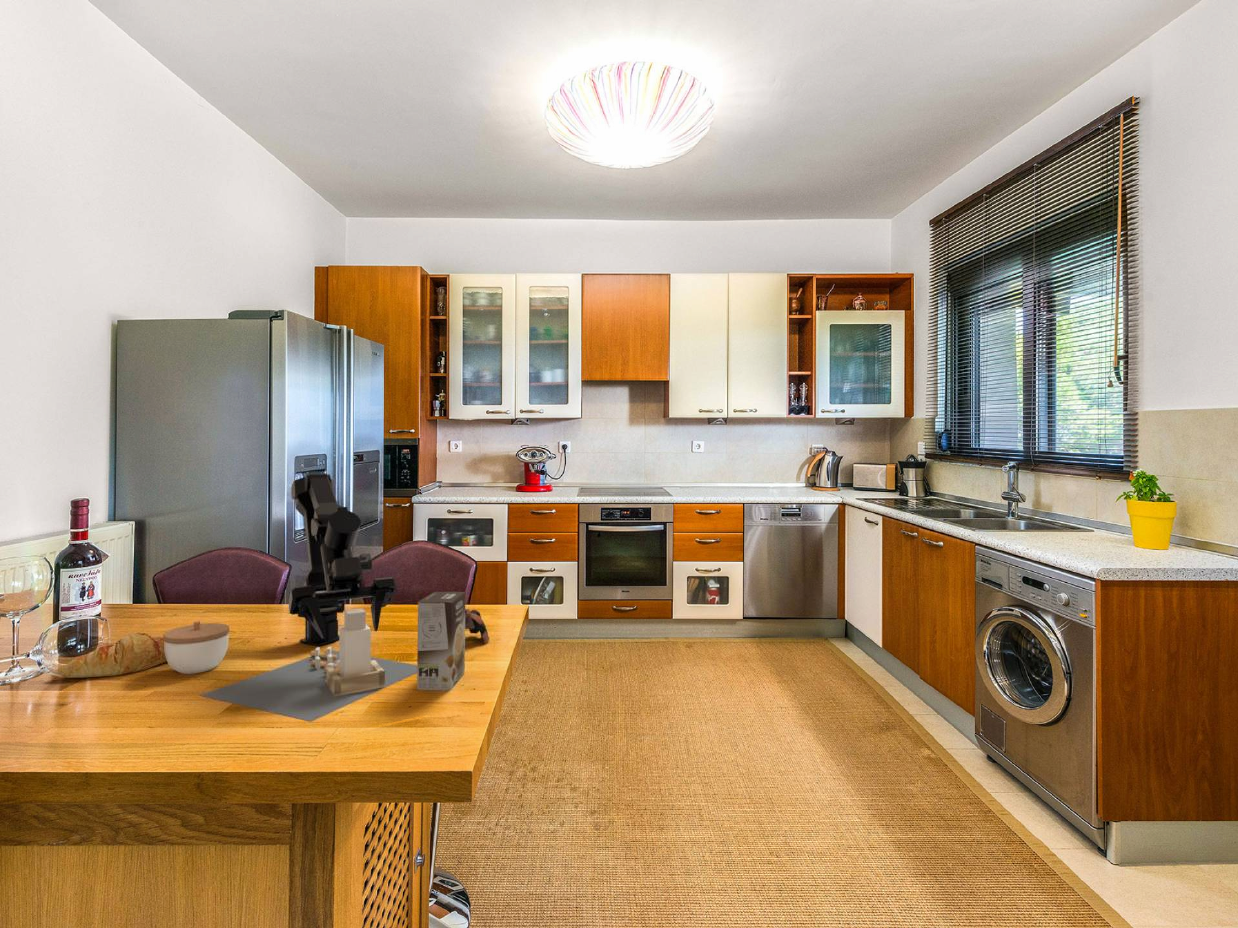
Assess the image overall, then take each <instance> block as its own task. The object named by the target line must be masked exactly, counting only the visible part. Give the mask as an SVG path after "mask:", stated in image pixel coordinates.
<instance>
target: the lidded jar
mask: <svg viewBox="0 0 1238 928" xmlns="http://www.w3.org/2000/svg"><path fill="white" fill-rule="evenodd" d="M229 633H230V626H229V625H228V624H225V623H219V622H217V623H215V622H209V623H208V622H206V623H201V621H199V620H198V621H194V622H193V624H188V625H184V626H180V627H176V628H175V627H174V628H171V629H169V630H168V631H165V632H164V633H163V635H162V638H163V640H164V653H165V657H166V660H167V662H166V663H167V664H168V665H169V667H170V668H172V670H174V671H175V672H177V673H179V674H185V675H186V674H187V675H188V674H189V675H193V674H198V673H199V674H200V673H203V672H207V671H210V670H213V669H214V668H216V667H217V666H218V665H219V664H220V663H221V662H222V661H223V659H224V658H225V655H226V654H227V651H228V647H229V641H230V640H229V637H230V636H229V635H230V634H229Z"/></svg>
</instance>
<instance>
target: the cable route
mask: <svg viewBox="0 0 1238 928" xmlns="http://www.w3.org/2000/svg"><path fill="white" fill-rule="evenodd" d="M332 650H333V649H332V646H328V647H327V648H326V651H327V653H323V652H321V647H319V646H318V647H315V650H311V651H310V652H309V657H311V656H314V657H315V660H312V661H311V665H314V666H315V668H316V669H317V670H318V669H320V667H325V668H324V671H325V672H326V675H327V668H330V667H333V668H334V670H335V671H336V673H337V674H339V660H338V661H336V664H334V663H333V660H336V659H337V655H332ZM320 658H325V659H327V662H323V661H320Z"/></svg>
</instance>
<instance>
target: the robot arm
mask: <svg viewBox="0 0 1238 928" xmlns="http://www.w3.org/2000/svg"><path fill="white" fill-rule="evenodd" d="M333 481H334V480H333V479H332V477H331V475H330V474H329V473H328V474H327V472H326V473H323V472H321V473H314V472H312V473H308V474H305V475H304V476H303V477H300V478H298V479H295V480H293V482H292V484H291V487H290V488H291V489H290V496H291V500H294V507H295V510H296V511H297V512H298V513H299V514H300V515H301V517H303V521H304V531H305V532H304V533H305V539H306V550H307V558H308V569H309V570H308V571H309V573H308V574H307V576H306V578H305V582H304V584H303V585H298V586H293V587H292V588H291V590H290V592H289V593H290V594H289V599H288V613H289V614H290V615H291V616H292V615H297V617H298V618H304V619H305V623H304V625H305V626H304V627H305V630H304V631H305V633H304V638H301V639H299V640H298V642H299V643H302V644H309V645H314V646H318V647H319V646H323V645H326V644H329V643H333V642H335V641H338V640H339V636H340V634H339V620H338V614H339V613H340V614H342V613H343V614H344V611H345V610H346V607H345V606H346V605H345V604H346V600H355V599H362V598H363V599H364V598H369V599H370V602H371V605H370V611H371V619H372V620H371V621H372V626H373V630H374V632H378V630H379V625H380V620H381V619H380V618H381V612H382V608H384V607H387V605H388V604H390V603H392V602H394V601H393V600H394V598H395V595H396V592H397V590H398V585H397V580H396V579H395V578H394V577H392V576H390V577H380V578H378V577H377V578H374V579H373V582H372V585H370V586H362V587H360V584H361V583H362V580H363V579H362V575H363V574H364V573H366V572H370V571H371V570H373V569H372V568H373V560H372V559H373V558H372V556H371V553H362V554H360V555H359V556H354V552H353V547H354V546H355V545H356V543H357V538H358V535H359V531H360V527H361V525H362V524H361V523H362V521H361V518H360V517H359V516H358V515H357V514H356V513H355V512H352V511H349V510H348V506H343V505H340V504H339V503H338V502H337V499H336V496H335V495H336V494H335V493H334V482H333Z"/></svg>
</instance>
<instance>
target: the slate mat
mask: <svg viewBox="0 0 1238 928" xmlns="http://www.w3.org/2000/svg"><path fill="white" fill-rule="evenodd" d="M322 653H327V650H326V651H324V652H322ZM332 655H337V659H336V660H333V663H334V664H336V661H338V660H339V651H338V650H333V649H332ZM312 660H315V657H314V656H309V657H306V658H302V659H299V660H297V661H295V662H292V663H289V664H285V665H282V666H280V667H277V668H274V669H271V670H268V671H265V672H263V673H262V672H261V673H259V674H257V675H254V676H252V677H249V678H246V679H243V680H239V681H237V682H234V683H231V684H228V685H225V686H223V687H219V688H217V689H214V690H211V691H208V692H205V693H203V694H199V696H200V697H203V698H208V699H213V700H217V701H221V702H225V703H230V704H233V705H236V706H237V705H238V706H241V707H246V708H252V709H255V710H258V711H263V712H269V713H273V714H276V715H281V716H284V717H285V716H286V717H289V718H293V719H298V720H302V721H306V722H309V723H310V722H314V721H316V720H318V719H320V718H322V717H325V716H327V715H329V714H330V713H332V712H333V713H334V711H337V710H340V709H341V708H344V707H346V706H348V705H351V704H353V703H354V702H357V701H359V700H361V699H364V698H365V697H368V696H370V695H373V694H375V693H376V692H379V691H381V690H383V689H385V688H387V687H390V686H392V685H394V684H396V683H398V682H400V681H403V680H405V679H407V678H409V677H411V676H414V675H417V664H413V663H409V662H408V663H407V662H401V661H397V660H390V659H386V658H385V659H384V658H378V657H373V656H371V661H372V660H375V661H376V662H377V663H378V664H379V665H380V666H381V667H382V669H383V670H384V671H385V687H382V688H376V689H371V690H366V691H361V692H355V693H350V694H345V695H339V696H334V694H333V693H332V691H331V690H330V688H329V686H328V685H327V683H326V680H327V675H326V672H325V671H324V668H325V667H320V669H318V670H317V669H316V668H315V666H314V665H311V661H312ZM320 661H323V662H327V659H325V658H320ZM338 676H339V674H338Z"/></svg>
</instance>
